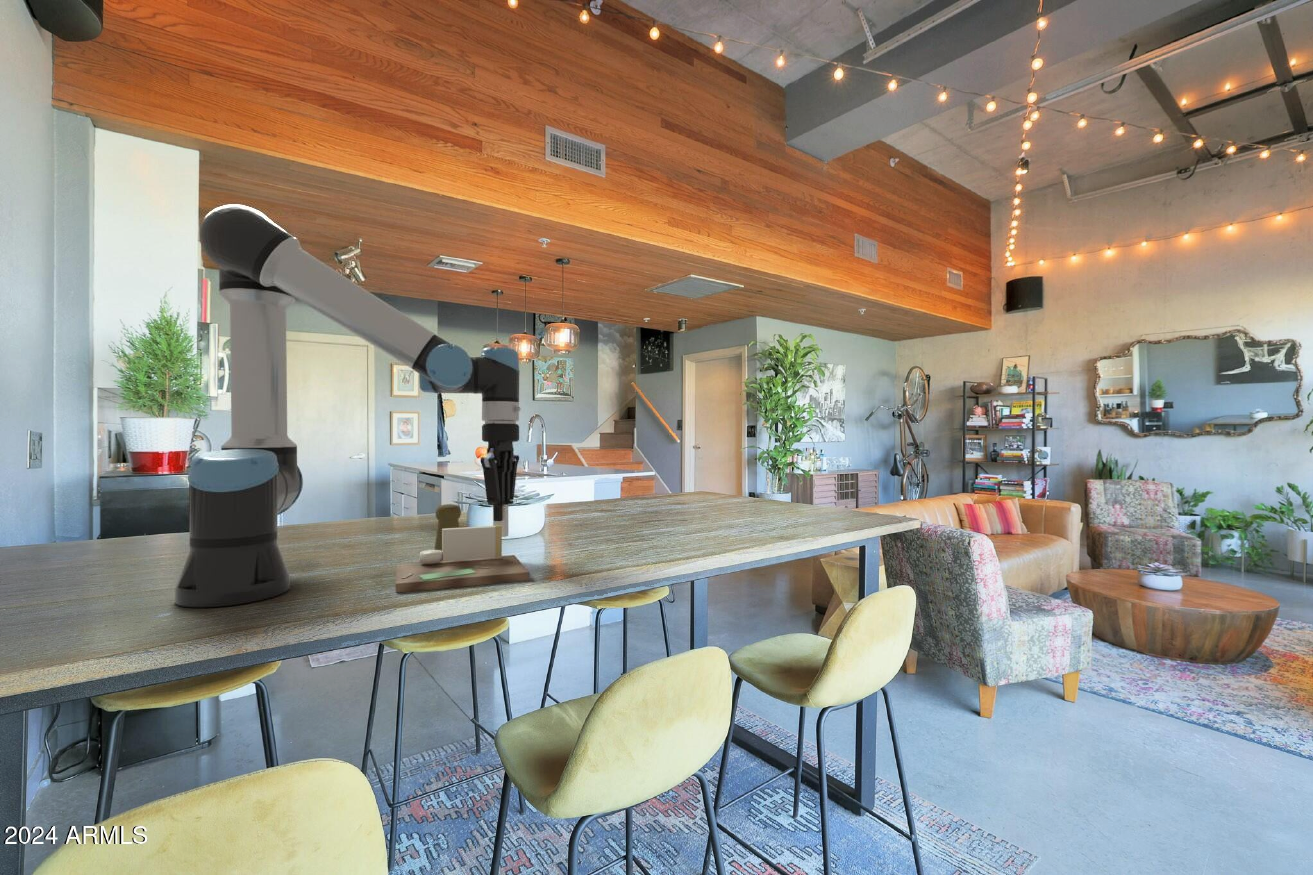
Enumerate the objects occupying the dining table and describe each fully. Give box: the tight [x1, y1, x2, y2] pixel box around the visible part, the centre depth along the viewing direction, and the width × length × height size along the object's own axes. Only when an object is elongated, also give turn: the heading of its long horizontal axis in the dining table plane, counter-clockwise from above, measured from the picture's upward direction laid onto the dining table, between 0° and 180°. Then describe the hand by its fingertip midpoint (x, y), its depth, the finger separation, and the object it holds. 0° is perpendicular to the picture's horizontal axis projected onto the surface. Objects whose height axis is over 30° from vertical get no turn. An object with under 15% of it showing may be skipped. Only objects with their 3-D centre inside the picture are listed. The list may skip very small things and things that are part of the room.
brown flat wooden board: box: [395, 554, 530, 594], centre depth 109 cm, size 22×16×2 cm
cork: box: [433, 503, 462, 551], centre depth 127 cm, size 6×6×11 cm
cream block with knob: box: [419, 525, 503, 564], centre depth 114 cm, size 15×4×6 cm, turn 113°
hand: (500, 535), depth 122 cm, fingers closed
